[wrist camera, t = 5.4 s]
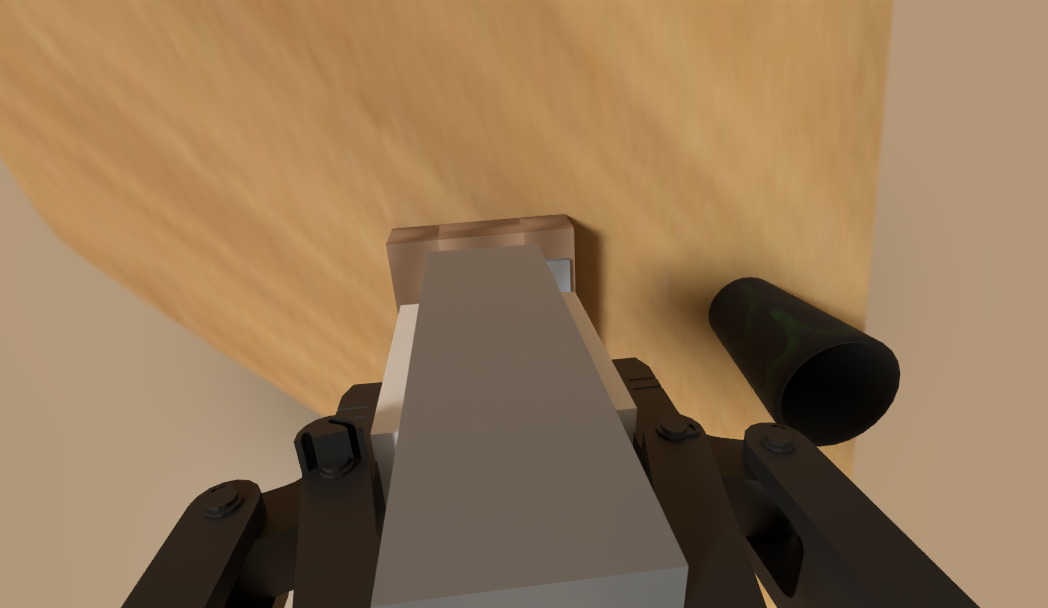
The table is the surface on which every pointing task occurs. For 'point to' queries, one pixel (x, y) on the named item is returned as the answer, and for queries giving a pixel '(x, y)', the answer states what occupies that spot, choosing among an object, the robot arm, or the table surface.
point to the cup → (805, 361)
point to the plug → (515, 457)
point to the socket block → (415, 242)
